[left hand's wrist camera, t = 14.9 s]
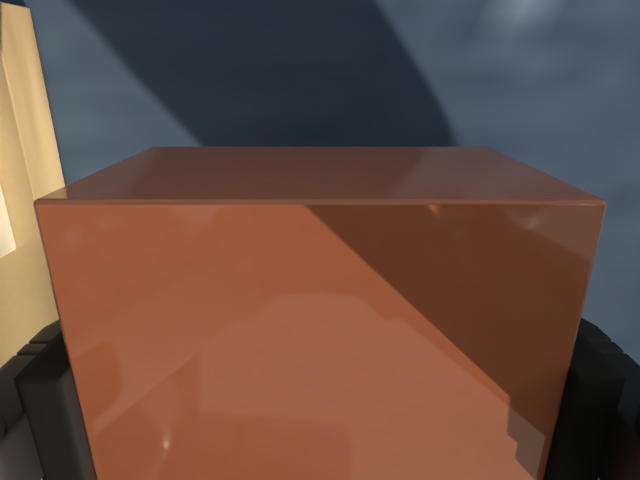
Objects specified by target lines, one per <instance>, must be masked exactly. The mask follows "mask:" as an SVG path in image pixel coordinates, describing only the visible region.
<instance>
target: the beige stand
mask: <svg viewBox="0 0 640 480" xmlns="http://www.w3.org/2000/svg"><path fill="white" fill-rule="evenodd" d="M62 187H65V184H64V179H63V174H62V169H61V164H60V159H59V154H58V149H57V144H56V139H55V134H54V129H53V124H52V119H51V114H50V109H49V104H48V99H47V94H46V89H45V84H44V79H43V74H42V69H41V64H40V59H39V54H38V49H37V44H36V39H35V34H34V29H33V24H32V19H31V14H30V9H29V8H28V7H24V6H19V5H14V4H10V3H5V2H0V368H1V367H2V366H3V365H4V364H5V363H6V362H7V361H8V360H9V359H10V358H12V357H13V356H16V355H17V352H18V351H19V350H20V349H21V348H22V347H23V346H24V345H25V344H29V341H30V340H31V339H32V338H33V337H34V336H35V335H36V334H37V333H38V332H39V331H40V330H42V329H43V328H44V327H46V326H47V325H49V324H51V323H53V322H55V321H57V320H58V319H59V317H58V312H57V308H56V303H55V299H54V295H53V290H52V286H51V282H50V277H49V273H48V269H47V264H46V260H45V255H44V251H43V247H42V242H41V238H40V234H39V229H38V225H37V221H36V216H35V212H34V207H33V202H34V200H36V199H38V198H40V197H43V196H45V195H47V194H49V193H51V192H54V191H56V190H58V189H60V188H62ZM41 480H42V479H41Z"/></svg>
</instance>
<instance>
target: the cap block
mask: <svg viewBox="0 0 640 480" xmlns="http://www.w3.org/2000/svg"><path fill="white" fill-rule="evenodd" d="M33 207H34V212H35V216H36V221H37V225H38V229H39V234H40V238H41V242H42V247H43V251H44V255H45V260H46V264H47V269H48V273H49V277H50V282H51V286H52V290H53V295H54V299H55V303H56V308H57V312H58V317H59V321H60V325H61V330H62V334H63V338H64V343H65V347H66V352H67V356H68V360H69V365H70V368H71V373H72V377H73V381H74V386H75V390H76V394H77V399H78V403H79V407H80V412H81V416H82V421H83V425H84V429H85V434H86V438H87V442H88V447H89V451H90V456H91V460H92V464H93V469H94V473H95V477H96V480H544V476H545V472H546V468H547V463H548V459H549V455H550V450H551V446H552V441H553V437H554V433H555V428H556V424H557V420H558V415H559V411H560V406H561V402H562V398H563V393H564V389H565V385H566V380H567V376H568V371H569V367H570V363H571V358H572V354H573V350H574V345H575V341H576V336H577V332H578V328H579V323H580V319H581V315H582V310H583V306H584V301H585V297H586V293H587V288H588V284H589V280H590V275H591V271H592V266H593V262H594V258H595V253H596V249H597V245H598V240H599V236H600V231H601V227H602V223H603V218H604V214H605V210H606V201H605V200H603V199H601V198H599V197H596V196H594V195H592V194H590V193H588V192H586V191H583V190H581V189H579V188H577V187H575V186H572V185H570V184H568V183H566V182H564V181H561V180H559V179H557V178H555V177H553V176H550V175H548V174H546V173H544V172H542V171H540V170H537V169H535V168H533V167H531V166H529V165H526V164H524V163H522V162H520V161H518V160H515V159H513V158H511V157H509V156H507V155H504V154H502V153H500V152H498V151H496V150H494V149H491V148H489V147H151V148H149V149H146V150H144V151H142V152H140V153H138V154H135V155H133V156H131V157H129V158H127V159H124V160H122V161H120V162H118V163H116V164H113V165H111V166H109V167H107V168H104V169H102V170H100V171H98V172H96V173H93V174H91V175H89V176H87V177H85V178H82V179H80V180H78V181H76V182H74V183H71V184H69V185H67V186H65V187H62V188H60V189H58V190H56V191H54V192H51V193H49V194H47V195H45V196H43V197H40V198H38V199H36V200H34V202H33Z"/></svg>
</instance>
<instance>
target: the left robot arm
mask: <svg viewBox="0 0 640 480" xmlns="http://www.w3.org/2000/svg"><path fill="white" fill-rule="evenodd" d="M598 477H599V478H600V480H640V366H639V365H638V364H637V363H636V362H635V361H634V360H633V359H632V358H630V357H629V356H628V355H627V354H624V353H623V350H622V349H621V348H620V347H619V346H618V345H616V344H615V343H614V342H611V339H610V338H609V337H608V336H607V335H606V334H605V333H604V332H602V331H601V330H600V329H599V328H598V327H597V326H596V325H594V324H592V323H590V322H588V321H586V320H585V319H583V318H581V319H580V323H579V328H578V332H577V336H576V341H575V345H574V350H573V354H572V358H571V363H570V367H569V371H568V376H567V380H566V385H565V389H564V393H563V398H562V402H561V406H560V411H559V415H558V420H557V424H556V428H555V433H554V437H553V441H552V446H551V450H550V455H549V459H548V463H547V468H546V472H545V476H544V480H597V479H598ZM41 479H42V480H96V477H95V473H94V469H93V464H92V460H91V456H90V451H89V447H88V442H87V438H86V434H85V429H84V425H83V421H82V416H81V412H80V407H79V403H78V399H77V394H76V390H75V386H74V381H73V377H72V373H71V368H70V365H69V360H68V356H67V352H66V347H65V343H64V338H63V334H62V330H61V325H60V321H59V319H58V320H57V321H55V322H53V323H51V324H49V325H47V326H46V327H44V328H43V329H42V330H40V331H39V332H38V333H37V334H36V335H35V336H34V337H33V338H32V339H31V340H30V341H29V344H25V345H24V346H23V347H22V348H21V349H20V350H19V351H18V352H17V355H16V356H13V357H12V358H10V359H9V360H8V361H7V362H6V363H5V364H4V365H3V366H2V367H1V368H0V480H41Z"/></svg>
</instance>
